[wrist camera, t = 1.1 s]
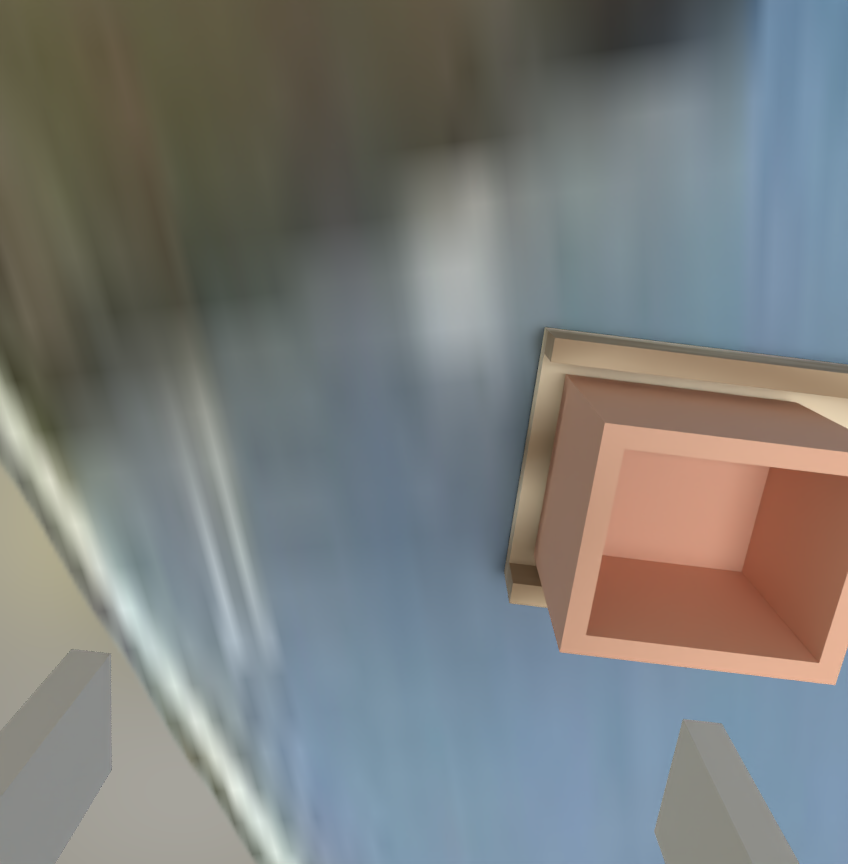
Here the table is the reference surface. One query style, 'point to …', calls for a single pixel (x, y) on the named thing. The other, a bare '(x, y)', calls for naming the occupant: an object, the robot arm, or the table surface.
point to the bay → (657, 365)
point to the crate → (696, 530)
